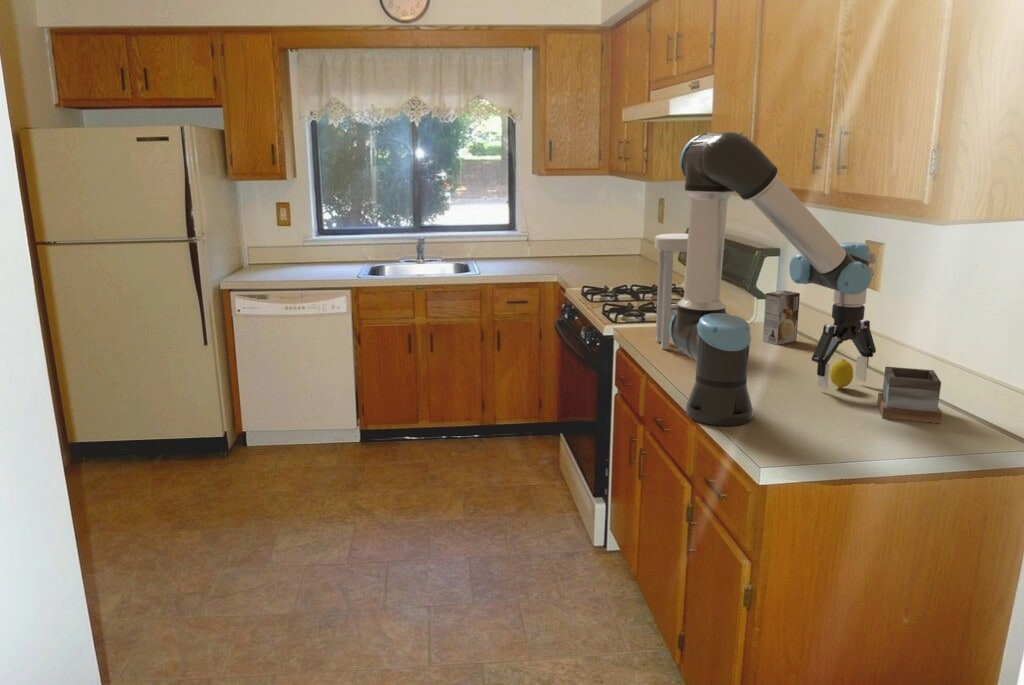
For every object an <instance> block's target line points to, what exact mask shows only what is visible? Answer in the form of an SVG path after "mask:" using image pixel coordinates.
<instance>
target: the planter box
mask: <svg viewBox="0 0 1024 685" xmlns="http://www.w3.org/2000/svg"><path fill="white" fill-rule="evenodd" d="M883 374H884V375H883V377H884V378H883V384H882V392H878V393H877V401H876V402H877V405H878V406H877V407H878V409H879V411H880V415H881V418H882V419H886V418H890V419H889V420H896V419H902V420H901V421H906V420H912V421H911V422H916V421H921V422H920V423H926V422H932V423H931V424H936V423H940V424H941V422H942V415H943V413H942V411H941V409H940V408H939V401H940V394H941V388H942V387H941V386H942V382H941V380H940V378H939V376H938V375H937V373H936V372H935V370H933V369H922V368H911V367H910V368H909V367H908V368H907V367H896V366H885V368H884V373H883Z"/></svg>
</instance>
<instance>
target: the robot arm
mask: <svg viewBox="0 0 1024 685" xmlns="http://www.w3.org/2000/svg"><path fill="white" fill-rule="evenodd" d="M679 168H680V171H681V172H682V175H683V176H684V179H685V180H684V181H685V182H684V193H685V194H687V196H688V197H689V199H690V203H689V204H690V206H689V218H688V219H689V220H688V233H687V234H688V247H687V252H686V264H685V265H686V266H685V277H684V278H685V280H684V290H683V292H684V293H683V297H682V298H681V299H679V301H678V302H677V303H676V304H677V308H676V310H677V313H676V314H675V315H674V316H673V317H672V318H671V319H670V320H671V322H670V326H669V333H670V341H671V342H672V344H674V346H675V347H676V348H677V349H678V350H679V351H680V352H681V353H682V354H685V355H686V356H688V357H690V358H691V359H693V360H694V361H696V363H695V381H694V384H693V386H692V390H691V391H690V394H689V397H688V399H687V402H686V410H685V413H686V416H687V417H688V418H689V419H691V420H694V421H695V422H697V423H702V424H705V425H711V426H720V427H721V426H722V427H724V426H725V427H734V426H740V425H745V424H748V423H750V422H751V421H752V420H753V413H754V412H753V411H754V410H753V405H752V402H751V397H750V394H749V390H748V384H747V382H748V370H749V360H750V358H749V356H750V344H751V340H752V338H751V326H750V324H749V323H748V321H746V320H745V319H744V318H742V317H740V316H738V315H732V314H730V313H726V304H725V303H724V302H723V301H722V300H721V289H722V288H721V287H722V275H723V264H724V251H725V237H726V227H727V226H726V224H727V212H728V200H729V198H730V197H732V196H733V195H734V194H735V193H736V194H737V195H738V196H739V197H740V198H741V199H742V200H744V201H751V202H752V203H753V205H754V206H755V207H756V208H757V209H758V210H759V211H760V212H761V213H762V214H763V215H764V216H765V217H766V218H767V220H769V222H770V223H771V224H772V225H774V227H775V228H776V230H778V231H779V232H780V233H781V234H782V236H783V237H785V239H787V241H788V242H789V243H790V244H791V245H792V246H793V247H794V248H795V249H796V250H797V251H798V252H799V253H796V254H795V255H794V256H792V258H791V260H790V262H789V267H788V269H789V270H788V271H789V276H790V278H791V280H792V282H793V283H795V284H797V285H798V284H803V285H808V284H814V285H817V286H822V287H824V288H827V289H828V288H829V289H831V290H833V298H832V299H833V302H834V303H833V305H832V307H831V308H832V310H831V317H832V319H833V324H832V325H829V324H827V323H826V324H824V325H823V329H822V333H821V335H820V338H819V341H818V343H817V345H816V347H815V349H814V352H813V354H812V356H811V361H812V362H815V363H817V369H816V370H817V371H816V375H817V385H816V387H818V388H821V389H824V390H828V389H829V388H828V387H829V377H830V364H829V361H830V360H831V358H832V357H833V355H834V353H835V352H836V350H837V348H839V347H840V345H841V344H842V343H844V342H846V341H848V340H850V341H852V343H853V344H854V346H855V348H856V350H857V351H858V353H859V354H858V355H856V356H857V357H856V366H855V368H856V369H855V378H854V380H858V381H860V382H866V381H867V380H866V379H867V369H868V367H869V361H870V360H869V359H870V358H873V357H874V354H876V352H877V349H876V346H875V342H874V338H873V335H872V331H871V322H870V320H868V319H864V318H865V310H866V308H865V307H866V306H864V305H865V304H866V303H867V302H866V300H867V289H868V288H869V286H870V285H871V282H872V280H873V279H872V278H873V274H872V271H871V268H870V262H871V260H870V259H871V257H870V256H871V249H870V245H868V244H867V243H863V242H856V241H854V242H852V241H851V242H850V241H848V242H847V241H846V242H840V243H839V242H838V241H837V240H836V239H835V238H834V237H833V235H831V233H830V232H829V231H828V230H827V229H826V227H824V225H823V224H822V223H821V222H820V221H819V220H818V219H817V218H816V217H815V215H814V214H812V212H811V211H810V210H809V209H808V208H807V207H806V206H805V204H804V203H803V202H802V201H801V200H800V199H799V198H798V197H797V196H796V195H795V194H794V192H793V191H792V190H791V189H790V188H789V187H788V185H787V184H785V183H784V182H783V180H782V179H781V178H780V177H779V169H778V167H777V166H776V165H775V164H774V163H773V162H772V160H771V159H770V158H769V157H768V156H767V155H766V154H765V153H764V152H763V151H762V150H761V148H760V147H758V146H757V145H756V144H755V143H754V142H753V141H752V140H750V139H749V138H748V137H746V136H744V135H743V134H741V133H739V132H738V133H737V132H734V131H725V132H713V131H712V132H705V133H702V134H698V135H697V136H694V137H692V138H691V139H690V140H689V141H688V142H687V143H686V144H685V145H684V147H683V149H682V151H681V153H680V156H679Z"/></svg>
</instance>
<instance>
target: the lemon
mask: <svg viewBox="0 0 1024 685" xmlns="http://www.w3.org/2000/svg"><path fill="white" fill-rule="evenodd" d="M829 377H830V380H831V383H832V384H833V385H834V386H836V387H837V388H838V389H839V388H840V390H841V388H842V389H843V388H845V387H847V386H849V385H850V384H851V383H852V381H853V378H854V369H853V365H852V364H851V363H850V362H848V361H847V360H845V359H843V358H842V359H840V360H837V361H835V362H834V363H833V364H832V365H831V367H830V370H829Z"/></svg>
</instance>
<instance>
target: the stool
mask: <svg viewBox="0 0 1024 685" xmlns="http://www.w3.org/2000/svg"><path fill="white" fill-rule="evenodd" d="M687 247H688V233H661V234H658V235H656V236H655V238H654V249H656V250H657V251H658V272H657V295H656V296H657V297H656V300H657V301H656V320H655V321H656V324H655V329H656V330H655V342H656V341H657V342H661V343H660V348H662V349H669V350H670V341H671V337H670V333H669V326H670V322H671V319H672V317H673V316H674V315H675V314H676V313H677V303H674V304H673V303H672V295H673V294H672V293H673V292H672V291H673V268H674V253H675V252H677V253H687ZM657 342H656V343H657ZM662 349H661V350H662Z"/></svg>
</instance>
